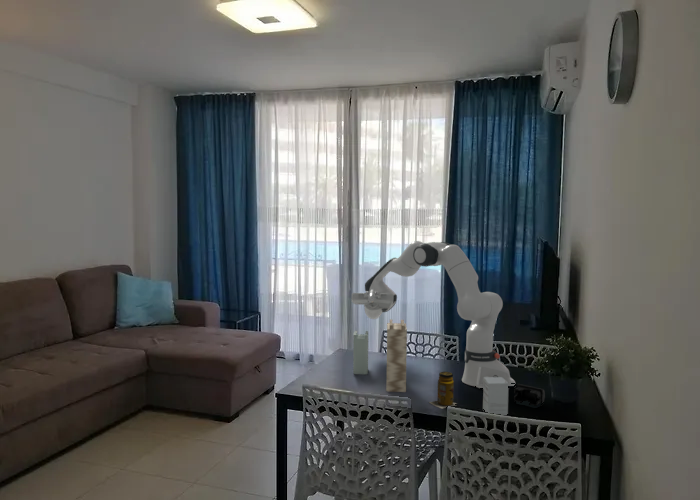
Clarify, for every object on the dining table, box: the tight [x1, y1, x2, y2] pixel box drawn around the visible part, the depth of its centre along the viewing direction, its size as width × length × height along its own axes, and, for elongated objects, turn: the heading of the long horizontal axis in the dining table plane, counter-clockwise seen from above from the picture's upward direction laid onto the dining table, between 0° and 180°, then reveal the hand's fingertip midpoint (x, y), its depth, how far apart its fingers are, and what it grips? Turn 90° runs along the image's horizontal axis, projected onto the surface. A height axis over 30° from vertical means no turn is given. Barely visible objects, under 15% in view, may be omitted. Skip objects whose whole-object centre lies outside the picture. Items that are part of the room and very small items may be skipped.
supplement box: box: [482, 377, 509, 415], centre depth 193 cm, size 7×7×13 cm
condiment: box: [428, 371, 457, 409], centre depth 202 cm, size 7×8×12 cm
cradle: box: [352, 330, 369, 375], centre depth 242 cm, size 6×8×18 cm
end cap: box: [513, 383, 546, 406], centre depth 203 cm, size 10×7×7 cm
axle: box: [368, 289, 375, 304], centre depth 240 cm, size 20×3×3 cm, turn 176°
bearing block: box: [385, 319, 408, 393], centre depth 221 cm, size 8×12×28 cm, turn 176°
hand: (372, 292), depth 246 cm, fingers closed on axle, 3 cm apart
